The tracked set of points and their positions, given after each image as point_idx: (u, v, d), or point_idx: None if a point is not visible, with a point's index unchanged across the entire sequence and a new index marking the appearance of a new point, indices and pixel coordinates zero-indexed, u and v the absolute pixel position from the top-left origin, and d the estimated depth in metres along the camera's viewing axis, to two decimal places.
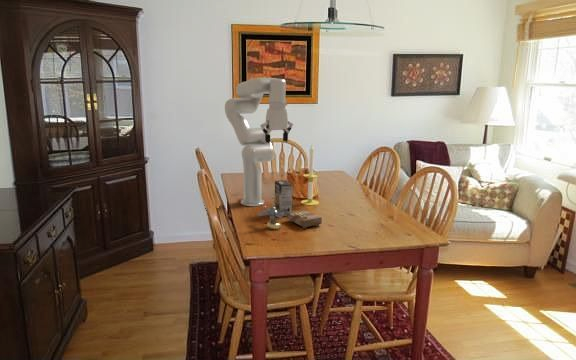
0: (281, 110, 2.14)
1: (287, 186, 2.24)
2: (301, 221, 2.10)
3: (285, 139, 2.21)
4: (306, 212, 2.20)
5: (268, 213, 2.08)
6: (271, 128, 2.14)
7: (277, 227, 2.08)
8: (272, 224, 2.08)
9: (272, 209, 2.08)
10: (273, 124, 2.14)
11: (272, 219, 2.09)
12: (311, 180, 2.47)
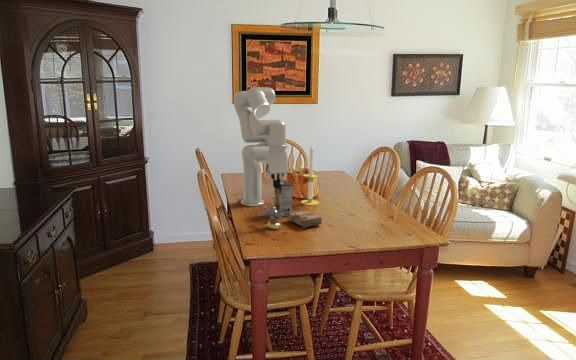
0: (281, 153, 2.09)
1: (287, 186, 2.24)
2: (301, 221, 2.10)
3: None
4: (306, 212, 2.20)
5: (268, 213, 2.08)
6: (271, 172, 2.09)
7: (277, 227, 2.08)
8: (272, 224, 2.08)
9: (272, 209, 2.08)
10: (273, 168, 2.08)
11: (272, 219, 2.09)
12: (311, 180, 2.47)
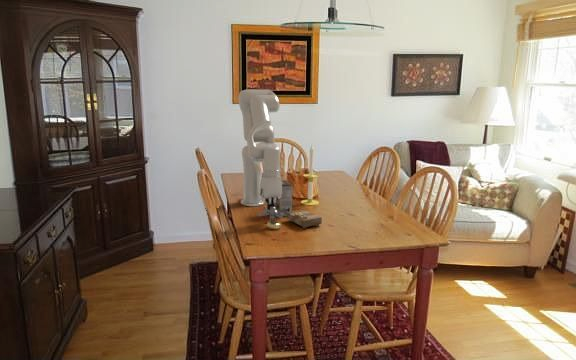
0: (275, 178, 2.10)
1: (287, 186, 2.24)
2: (301, 221, 2.10)
3: None
4: (306, 212, 2.20)
5: (268, 213, 2.08)
6: (265, 196, 2.10)
7: (277, 227, 2.08)
8: (272, 224, 2.08)
9: (272, 209, 2.08)
10: (267, 192, 2.10)
11: (272, 219, 2.09)
12: (311, 180, 2.47)
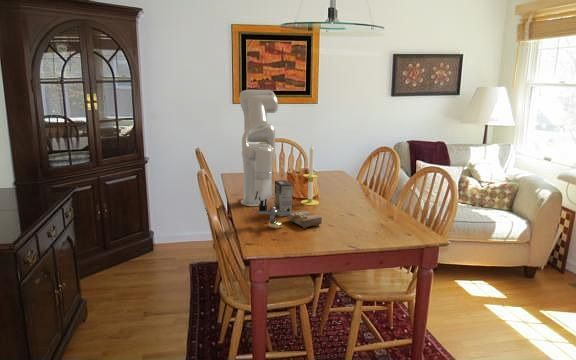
0: (269, 179, 2.08)
1: (287, 186, 2.24)
2: (301, 221, 2.10)
3: None
4: (306, 212, 2.20)
5: (273, 214, 2.07)
6: (262, 199, 2.06)
7: (281, 225, 2.11)
8: (277, 223, 2.09)
9: (274, 209, 2.09)
10: (264, 195, 2.06)
11: (274, 219, 2.10)
12: (311, 180, 2.47)
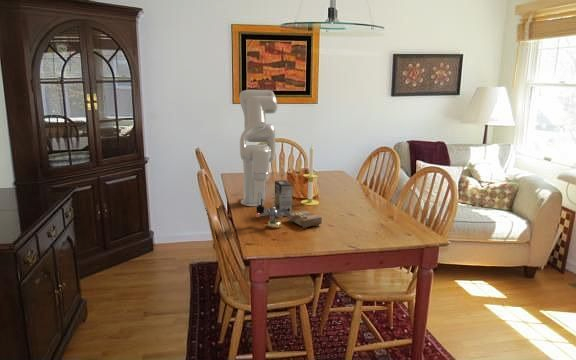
0: None
1: (287, 186, 2.24)
2: (301, 221, 2.10)
3: None
4: (306, 212, 2.20)
5: None
6: None
7: None
8: (278, 222, 2.11)
9: None
10: (264, 195, 2.06)
11: None
12: (311, 180, 2.47)
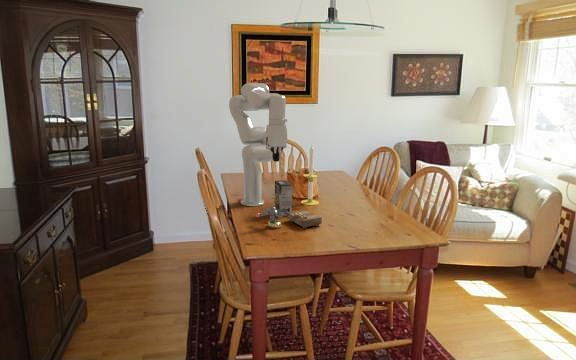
0: (281, 127, 2.11)
1: (287, 186, 2.24)
2: (301, 221, 2.10)
3: None
4: (306, 212, 2.20)
5: None
6: (270, 145, 2.11)
7: None
8: (278, 222, 2.11)
9: None
10: (272, 141, 2.11)
11: None
12: (311, 180, 2.47)
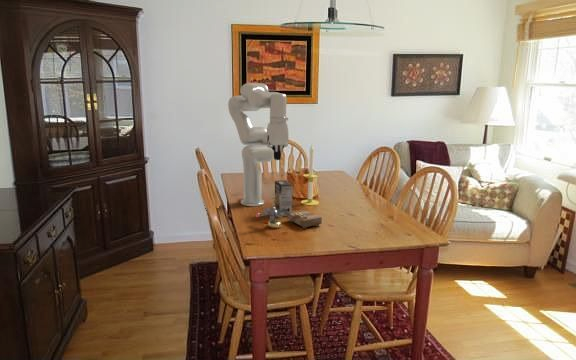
0: (282, 125, 2.11)
1: (287, 186, 2.24)
2: (301, 221, 2.10)
3: None
4: (306, 212, 2.20)
5: None
6: (272, 143, 2.11)
7: None
8: (278, 222, 2.11)
9: None
10: (274, 139, 2.11)
11: None
12: (311, 180, 2.47)
